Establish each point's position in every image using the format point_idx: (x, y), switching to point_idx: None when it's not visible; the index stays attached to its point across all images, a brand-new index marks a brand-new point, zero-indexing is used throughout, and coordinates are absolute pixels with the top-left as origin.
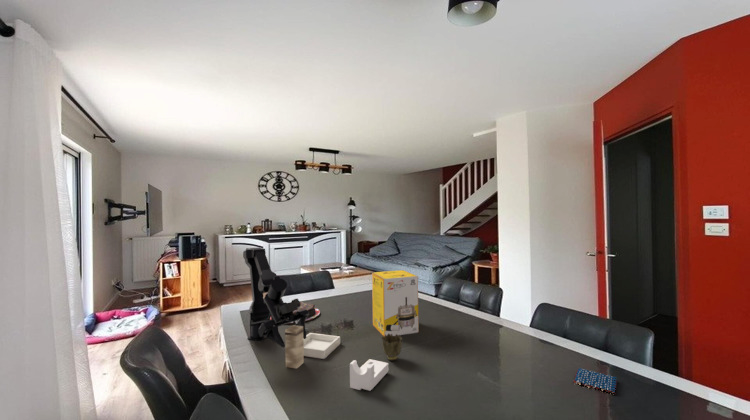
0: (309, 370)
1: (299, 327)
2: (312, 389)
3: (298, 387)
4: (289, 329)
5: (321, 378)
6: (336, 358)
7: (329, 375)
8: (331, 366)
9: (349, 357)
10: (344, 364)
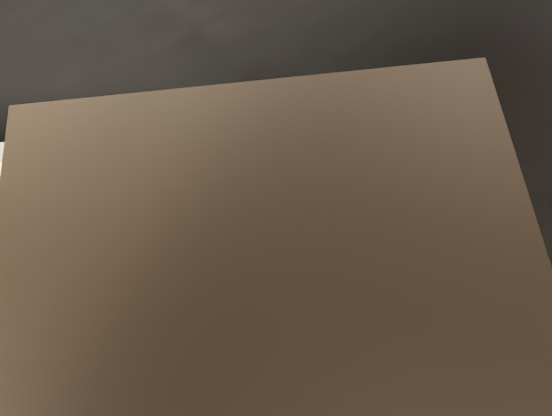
0: None
1: (153, 159)
2: (508, 13)
3: (544, 98)
4: (541, 407)
5: (372, 35)
6: (64, 92)
7: (314, 13)
8: (197, 61)
9: (26, 22)
10: (140, 3)
